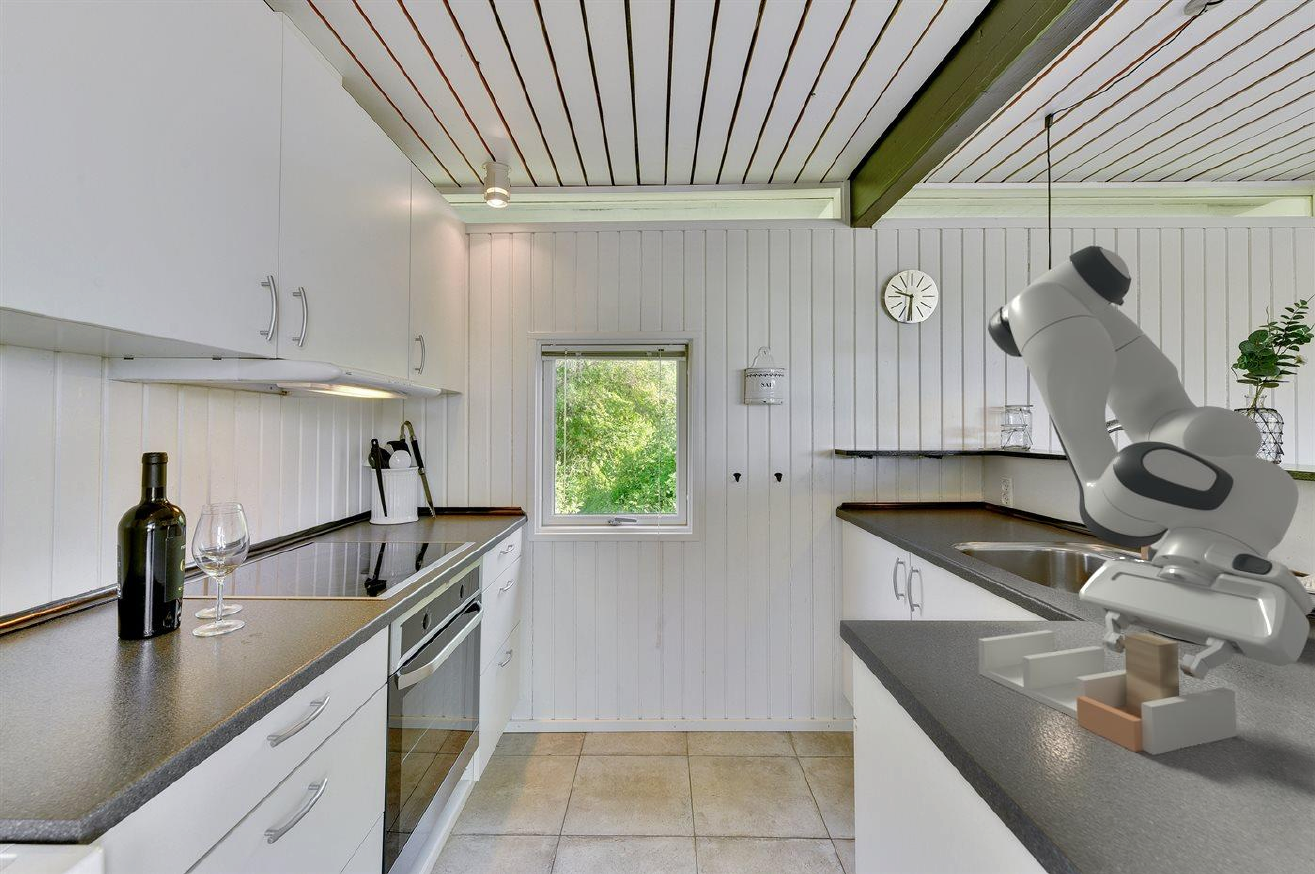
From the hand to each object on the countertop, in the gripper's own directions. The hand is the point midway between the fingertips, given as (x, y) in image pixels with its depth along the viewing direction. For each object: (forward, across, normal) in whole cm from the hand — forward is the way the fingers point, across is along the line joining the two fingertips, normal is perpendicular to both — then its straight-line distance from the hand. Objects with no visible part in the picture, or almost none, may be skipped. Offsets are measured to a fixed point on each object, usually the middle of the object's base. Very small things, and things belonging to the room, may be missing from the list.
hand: (1148, 660), depth 63 cm
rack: (+5, -7, +6) cm, 10 cm away
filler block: (+4, 0, +5) cm, 7 cm away
